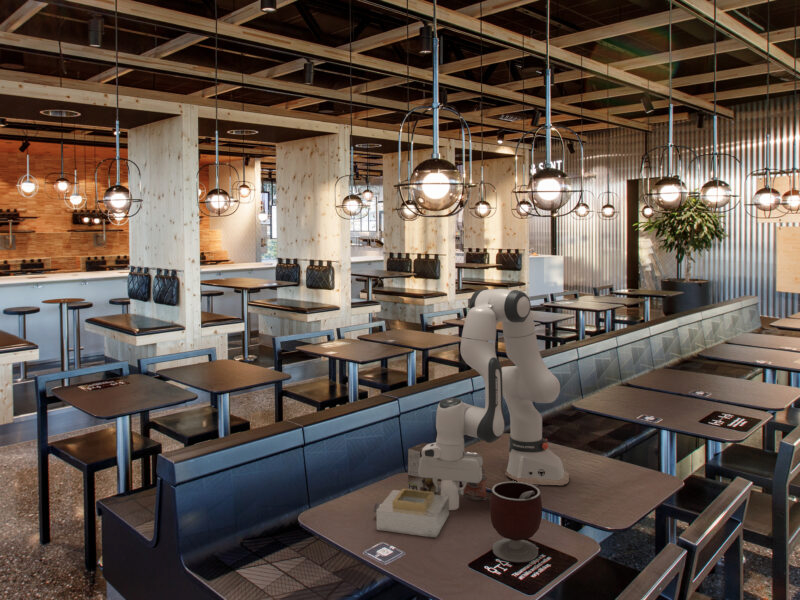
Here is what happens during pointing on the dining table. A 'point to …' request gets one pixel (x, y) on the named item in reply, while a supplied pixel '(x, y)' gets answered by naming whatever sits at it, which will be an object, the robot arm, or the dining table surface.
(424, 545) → the dining table surface
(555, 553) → the dining table surface
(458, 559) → the dining table surface
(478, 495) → the lighter
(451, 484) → the roll
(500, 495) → the mate gourd
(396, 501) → the white box
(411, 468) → the coffee box
